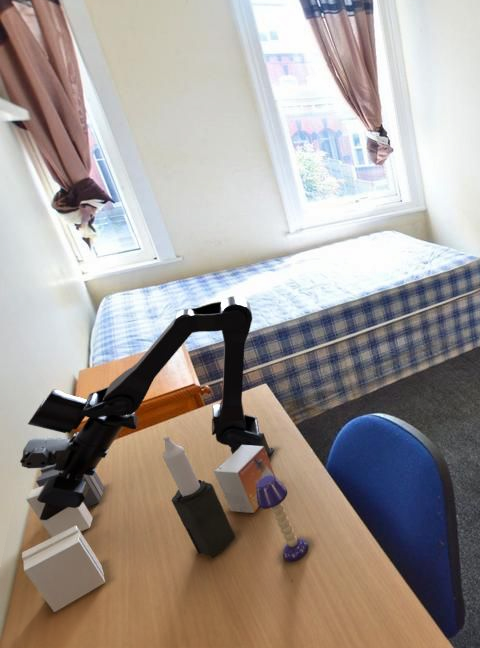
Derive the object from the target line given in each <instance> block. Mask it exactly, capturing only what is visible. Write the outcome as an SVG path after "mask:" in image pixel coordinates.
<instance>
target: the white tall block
mask: <svg viewBox="0 0 480 648" xmlns="http://www.w3.org/2000/svg"><path fill="white" fill-rule="evenodd" d="M42 488H43V486H41V487H39V486H38V487H36V488H32V489H31V490H30V491H29V494H28V495H27V498H26V502H27V503H28V505H29V506H30V507H31V509H32V511H33V513H34V514H35V515H36V516H37V518H38V520H39V521H40V523H41V524H42V526H43V527H44V528H45V530H46V532H47V534H48V535H49V536H50V538H52V537H54V536H56V535H58V534H60V533H62V532H64V531H66V530H68V529H70V528H72V527H74V526H77V527H78V529H79V530H80V532H81V533H82V532H83V531H85V530H89V529H90V528H91V525H92V523H93V519H94V518H93V516H92V514H91V513H90V511H89V509H88V507H86V506H85V504H84V503H83V502H82V504H81V505H80V507H77V508H71V507H68V508H66V509H64V510H63V511H61V512H59V513H58V514H56V515H54V516H53V517H51V518H50V519H48V520H40V516H41V513H42V511H43V508H44V505H45V503H41V502H39V501H38V500H37V498H38V496H39V494H40V492H41V490H42Z"/></svg>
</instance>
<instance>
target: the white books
mask: <svg viewBox="0 0 480 648" xmlns="http://www.w3.org/2000/svg"><path fill="white" fill-rule="evenodd" d="M21 556H22V557H21V558H22V560H23V571H24V573H25V574H26V575H27V577H28V579H29V580H30V581H31V582H32V584H33V585H34V586H35V588H36V589H37V590H38V592H39V593H40V595H41V596H42V598H43V599H44V600H45V602H46V603H47V605H48V606H49V607H50V609H51V610H52V611H53V613H56V612H57V611H60V610H61V609H63V608H64V607H66V606H68V605H70V604H71V603H73V602H75V601H76V600H78V599H80V598H81V597H83V596H85V595H86V594H88V593H90V592H92V591H94V590H95V589H97V588H98V587H100V586H102V585H104V584H105V583H106V581H105V574H104V570H103V566H102V564H101V562H100V561H99V559H98V556H96V554H95V553H94V551H93V550H92V548H91V546H90V544H89V543H88V542H87V540H86V538H85V537H84V535H83V534H82V531H81V532H80V530H79V529H78V527H77V526H74V527H72V528H70V529H68V530H66V531H64V532H62V533H60V534H58V535H56V536H54V537H50V538H48V539H46V540H45V541H42V542H40V543H38V544H36V545H34V546H32V547H30V548H29V549H27V550H24V551H23V552H22V553H21Z"/></svg>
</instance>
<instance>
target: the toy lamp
mask: <svg viewBox="0 0 480 648" xmlns="http://www.w3.org/2000/svg"><path fill="white" fill-rule="evenodd" d="M256 491H257V503H258V506H259V507H258V508H260V509H262V510H269V509H271V513H272V514H273V515H274V518H275V520H276V521H277V525H278V527H279V528H280V532H281V533H282V534H283V538H284V539H285V540H286V544H285V546H284V548H283V551H282V556H283V559H284V561H286V562H295V561H298V560H300V559H301V558H302V557H304V556H305V554H307V552H308V550H309V543H308V541H307V540H306V539H304V538H301V537H297V536H296V533H295V530H293V526H292V524H291V522H290V519H289V517H288V516H287V512H286V511H285V510H284V505H283V504H282V502H284V501H285V499H286V498H287V496H288V489H287V488H286V486H285V485H284V484H283V483H282V482H281V481H280V480H279V479H278V478H277V477H276V475H275V476H273V475H267V476H264V477H262V478H261V479H260V480H259V481H258V482H257V484H256Z"/></svg>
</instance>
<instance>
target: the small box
mask: <svg viewBox="0 0 480 648" xmlns="http://www.w3.org/2000/svg"><path fill="white" fill-rule="evenodd" d="M213 473H214V476H215V477H216V481H217V483H218V485H219V487H220V489H221V492H222V494H223V496H224V498H225V501H226V503H227V505H228V507H229V510H230V511H231V512H239V513H248V514H255V512H256V511H257V510H258V508H260V507H259V506H258V503H257V491H256V484H257V482H258V481H259V480H260V479H261V478H262V477H264V476H267V475H273V476H275V477H276V475H275V472H274V469H273V466H272V463H271V461H270V457H269V458H268V455H267V453H266V450H265V447H264V446H252V445H241V446H240V447H239V449H238V450H237V451H235V452H234V453H233V454H232V453H231V455H230V456H229V457H228V458H227V459H226V460H225V461H223V463H221V464H220V465H219V466H218V467H217V468H216V469H214V471H213Z"/></svg>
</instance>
